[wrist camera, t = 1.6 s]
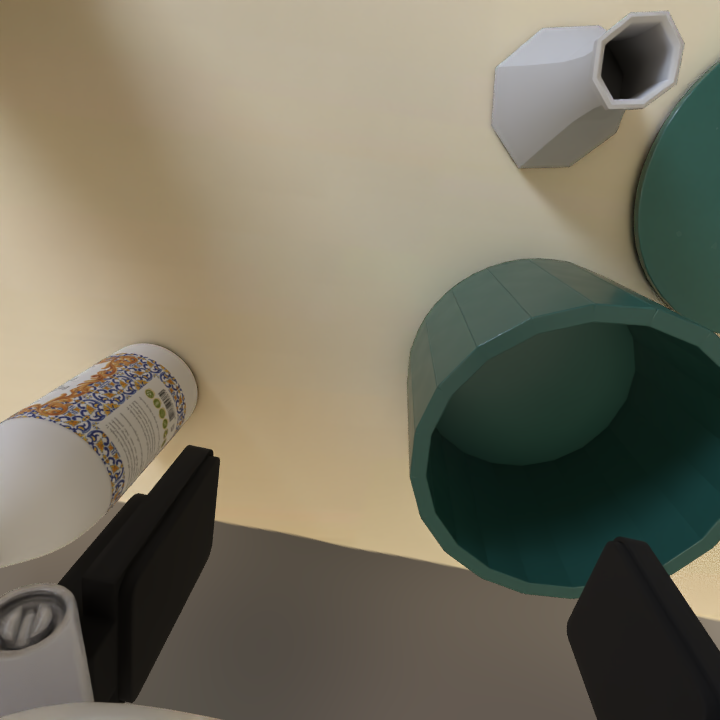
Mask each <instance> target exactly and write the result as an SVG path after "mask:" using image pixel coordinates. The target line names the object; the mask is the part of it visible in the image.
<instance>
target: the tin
mask: <svg viewBox="0 0 720 720" xmlns="http://www.w3.org/2000/svg"><path fill="white" fill-rule="evenodd" d="M407 400H408V435H409V469H410V480H411V484H412V487H413V491H414V495H415V499H416V502H417V506H418V510H419V514H420V516H421V519H422V520H423V522H424V523H425V525H426V526H427V527H428V529H429V530H430V532H431V533H432V534H433V536H434V537H435V539H436V540H437V541H438V543H439V544H440V546H441V547H442V548H443V550H444V551H445V552H446V553H447V554H449V555H450V556H451V557H453V558H454V559H455V560H457V561H458V562H460V563H461V564H462V565H464V566H465V567H466V568H468V569H469V570H471V571H472V572H473V573H475V574H476V575H477V576H479V577H481V578H482V579H485V580H488V581H490V582H493V583H496V584H498V585H501V586H504V587H507V588H509V589H512V590H515V591H517V592H520V593H524V594H530V595H539V596H549V597H558V598H568V599H575V598H579V597H580V595H581V593H582V591H583V589H584V587H585V585H586V583H587V581H588V579H589V577H590V575H591V573H592V571H593V569H594V567H595V565H596V563H597V561H598V559H599V557H600V555H601V553H602V551H603V549H604V547H605V545H606V543H607V542H609V541H613V540H614V539H615V538H616V537H620V536H621V537H626V538H631V539H635V540H640V541H644V542H646V543H647V544H648V545H649V546H650V548H651V549H652V551H653V552H654V554H655V555H656V557H657V558H658V560H659V561H660V563H661V564H662V566H663V567H664V569H665V570H666V572H667V573H668V575H669V576H670V575H672V574H674V573H675V572H677V571H678V570H680V569H681V568H683V567H684V566H686V565H688V564H689V563H691V562H692V561H694V560H695V559H697V558H698V557H700V556H701V555H703V554H704V553H706V552H707V551H709V550H710V549H712V548H713V547H714V546H715V545H716V544H717V543H718V542H719V541H720V338H719V337H718V336H717V335H716V334H715V333H714V332H713V331H711V330H710V329H708V328H706V327H704V326H702V325H700V324H698V323H696V322H694V321H692V320H690V319H688V318H686V317H684V316H682V315H680V314H678V313H676V312H674V311H672V310H670V309H668V308H666V307H664V306H662V305H660V304H658V303H656V302H654V301H652V300H650V299H648V298H646V297H644V296H642V295H640V294H638V293H636V292H634V291H632V290H630V289H628V288H626V287H624V286H622V285H620V284H618V283H616V282H614V281H612V280H610V279H608V278H606V277H604V276H602V275H599V274H597V273H594V272H592V271H590V270H587V269H585V268H582V267H580V266H578V265H575V264H573V263H570V262H566V261H558V260H550V259H521V260H515V261H510V262H504V263H501V264H498V265H495V266H491V267H488V268H486V269H484V270H482V271H479V272H477V273H475V274H473V275H471V276H470V277H468V278H466V279H465V280H463V281H461V282H460V283H458V284H457V285H456V286H455V287H453V288H452V289H451V290H449V291H448V292H447V293H446V294H445V295H444V296H443V297H442V298H441V299H440V300H439V301H438V302H437V303H436V304H435V305H434V307H433V308H432V309H431V311H430V312H429V313H428V314H427V316H426V317H425V319H424V321H423V323H422V324H421V326H420V328H419V330H418V332H417V334H416V337H415V339H414V342H413V345H412V348H411V351H410V357H409V366H408V378H407Z"/></svg>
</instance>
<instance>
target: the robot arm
mask: <svg viewBox="0 0 720 720" xmlns="http://www.w3.org/2000/svg"><path fill="white" fill-rule="evenodd" d="M219 466H220V459H219V458H218V457H214V456H213V451H212V450H211V449H206V448H201V447H197V446H192V445H188V446H187V447H186V448H185V449H184V450H183V451H182V453H181V454H180V455H179V456H178V458H177V459H176V460H175V461H174V463H173V464H172V465H171V466H170V468H169V469H168V470H167V471H166V473H165V474H164V475H163V476H162V477H161V479H160V480H159V481H158V482H157V484H156V485H155V486H154V487H153V489H152V490H151V491H150V492H149V494H148V495H144V494H139V493H138V494H135V495H134V496H132V497H131V498H130V499H129V500H128V502H127V503H126V504H125V505H124V506H123V508H122V509H121V510H120V511H119V512H118V514H117V515H116V516H115V517H114V518H113V519H112V520H111V522H110V523H109V524H108V525H107V526H106V527H105V529H104V530H103V531H102V532H101V533H100V535H99V536H98V537H97V538H96V539H95V541H94V542H93V543H92V544H91V545H90V546H89V547H88V549H87V550H86V551H85V552H84V554H83V555H82V556H81V557H80V558H79V559H78V560H77V562H76V563H75V564H74V565H73V566H72V567H71V569H70V570H69V571H68V572H67V573H66V575H65V576H64V577H63V578H62V579H61V581H60V582H59V583H58V584H54V583H36V584H32V585H26V586H22V587H20V588H17V589H15V590H12V591H9V592H8V593H6V594H4V595H2V596H1V597H0V720H222V719H217V718H212V717H206V716H201V715H196V714H190V713H186V712H180V711H175V710H170V709H163V708H155V707H148V706H141V705H134V704H127V703H126V704H125V701H126V702H130V703H133V702H134V701H135V699H136V698H137V696H138V695H139V693H140V691H141V689H142V687H143V685H144V683H145V681H146V679H147V677H148V675H149V673H150V671H151V669H152V667H153V666H154V664H155V661H156V659H157V658H158V656H159V654H160V652H161V650H162V648H163V646H164V644H165V642H166V640H167V638H168V636H169V634H170V632H171V630H172V628H173V626H174V624H175V623H176V620H177V619H178V617H179V615H180V613H181V611H182V609H183V607H184V605H185V603H186V601H187V599H188V597H189V595H190V593H191V591H192V589H193V587H194V585H195V583H196V581H197V579H198V578H199V576H200V573H201V572H202V570H203V568H204V566H205V564H206V562H207V560H208V557H209V555H210V551H211V547H212V540H213V530H214V519H215V509H216V498H217V487H218V477H219ZM567 635H568V639H569V642H570V645H571V648H572V650H573V653H574V656H575V659H576V661H577V664H578V667H579V670H580V673H581V675H582V678H583V681H584V684H585V687H586V689H587V692H588V695H589V698H590V700H591V703H592V706H593V709H594V712H595V715H596V717H597V720H720V651H719V650H718V648H717V647H716V645H715V644H714V642H713V641H712V639H711V638H710V636H709V635H708V633H707V632H706V630H705V629H704V627H703V626H702V624H701V623H700V621H699V620H698V618H697V617H696V615H695V614H694V612H693V611H692V609H691V608H690V606H689V605H688V603H687V602H686V600H685V599H684V597H683V596H682V594H681V593H680V591H679V590H678V588H677V587H676V585H675V584H674V582H673V581H672V579H671V578H670V576H669V575H668V573H667V572H666V570H665V569H664V567H663V566H662V564H661V563H660V561H659V560H658V558H657V557H656V555H655V554H654V552H653V551H652V549H651V548H650V546H649V545H648V544H647V543H646V542H644V541H640V540H635V539H631V538H626V537H621V536H620V537H616V538H615V539H614V540H613V541H609V542H607V543H606V545H605V547H604V549H603V551H602V553H601V555H600V557H599V559H598V561H597V563H596V565H595V567H594V569H593V571H592V573H591V575H590V577H589V579H588V581H587V583H586V585H585V587H584V589H583V591H582V593H581V595H580V597H579V600H578V602H577V604H576V606H575V608H574V610H573V612H572V614H571V616H570V618H569V620H568V623H567Z"/></svg>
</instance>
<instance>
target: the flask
mask: <svg viewBox="0 0 720 720" xmlns="http://www.w3.org/2000/svg"><path fill="white" fill-rule="evenodd" d="M684 44H685V43H684V41H683V39H682V37H681V35H680V33H679V31H678V29H677V27H676V25H675V23H674V21H673V19H672V17H671V15H670V13H669V11H652V12H632V13H629V14H628V15H626V16H625V17H624V18H623V19H621V20H620V21H619V22H618V23H616V24H615V25H614V26H613V27H611V28H610V29H609V30H608V31H606V30H605V29H604V28H603V27H601V26H599V25H595V26H574V27H553V28H542V29H541V30H540V31H538V32H537V33H536V34H535V35H534V36H532V37H531V38H530V39H529V40H528V41H526V42H525V43H524V44H523V45H522V46H521V47H519V48H518V49H517V50H516V51H515V52H513V53H512V54H511V55H510V56H509V57H507V58H506V59H505V60H504V61H503V62H502V63H500V64H499V65H498V66H497V67H496V70H495V85H494V99H493V113H492V127H493V129H494V130H495V132H496V133H497V135H498V136H499V138H500V140H501V141H502V143H503V144H504V146H505V148H506V149H507V151H508V152H509V154H510V155H511V157H512V159H513V160H514V162H515V163H516V165H517V167H518V168H550V167H570V166H571V165H573V164H574V163H576V162H577V161H578V160H580V159H581V158H582V157H584V156H585V155H586V154H588V153H589V152H590V151H592V150H593V149H595V148H596V147H597V146H599V145H600V144H601V143H603V142H604V141H605V140H607V139H608V138H610V137H611V136H612V135H614V134H615V133H616V131H617V129H618V127H619V124H620V121H621V119H622V116H623V114H624V112H625V110H631V109H643V108H645V107H646V106H648V105H649V104H650V103H652V102H653V101H654V100H656V99H657V98H658V97H660V96H661V95H662V94H664V93H665V92H667V91H668V90H669V89H671V88H672V87H673V86H675V85H676V84H677V81H678V75H679V70H680V65H681V60H682V55H683V49H684Z"/></svg>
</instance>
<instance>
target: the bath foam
mask: <svg viewBox="0 0 720 720" xmlns="http://www.w3.org/2000/svg"><path fill="white" fill-rule="evenodd" d="M196 403H197V385H196V381H195V379H194V376H193V374H192V372H191V370H190V369H189V367H188V366H187V365H186V364H185V362H184V361H183V360H182V359H181V358H180V357H178V356H177V355H176V354H174V353H173V352H171V351H170V350H168V349H166V348H163V347H161V346H158V345H154V344H147V343H138V344H132V345H129V346H126V347H124V348H122V349H120V350H118V351H116V352H115V353H113V354H112V355H110V356H108V357H106V358H105V359H103V360H101V361H100V362H98V363H96V364H95V365H93V366H92V367H90V368H88V369H87V370H85V371H84V372H82V373H80V374H79V375H77V376H75V377H74V378H72V379H71V380H69V381H67V382H66V383H64V384H63V385H61V386H59V387H58V388H56V389H54V390H53V391H51V392H50V393H48V394H46V395H45V396H43V397H42V398H40V399H38V400H37V401H35V402H33V403H32V404H30V405H29V406H27V407H25V408H24V409H22V410H21V411H19V412H17V413H16V414H14V415H12V416H11V417H9V418H8V419H6V420H4V421H3V422H1V423H0V568H1V567H6V566H10V565H13V564H17V563H21V562H25V561H28V560H31V559H35V558H38V557H41V556H44V555H47V554H49V553H51V552H54V551H56V550H58V549H60V548H62V547H64V546H66V545H68V544H69V543H71V542H73V541H74V540H76V539H77V538H79V537H80V536H81V535H83V534H84V533H85V532H87V531H88V530H89V529H90V528H91V527H92V526H93V525H95V523H97V522H98V521H99V520H100V519H101V518H102V516H104V515H105V513H107V512H108V511H109V510H110V509H111V508H112V507H113V505H114V504H115V503H116V502H117V501H118V500H119V499H120V497H121V496H122V495H123V494H124V493H125V492H126V491H127V489H128V488H129V487H130V486H131V485H132V484H133V482H134V481H135V480H136V479H137V478H138V477H139V476H140V474H141V473H142V472H143V471H144V470H145V469H146V468H147V466H148V465H149V464H150V463H151V462H152V461H153V460H154V458H155V457H156V456H157V455H158V454H159V453H160V451H161V450H162V449H163V448H164V447H165V446H166V445H167V443H168V442H169V441H170V440H171V439H172V438H173V437H174V435H175V434H176V433H177V432H178V431H179V429H180V428H181V426H182V425H183V424H184V423H185V422H186V421H187V420H188V418H189V417H190V416H191V414H192V413H193V411H194V409H195V406H196Z"/></svg>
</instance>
